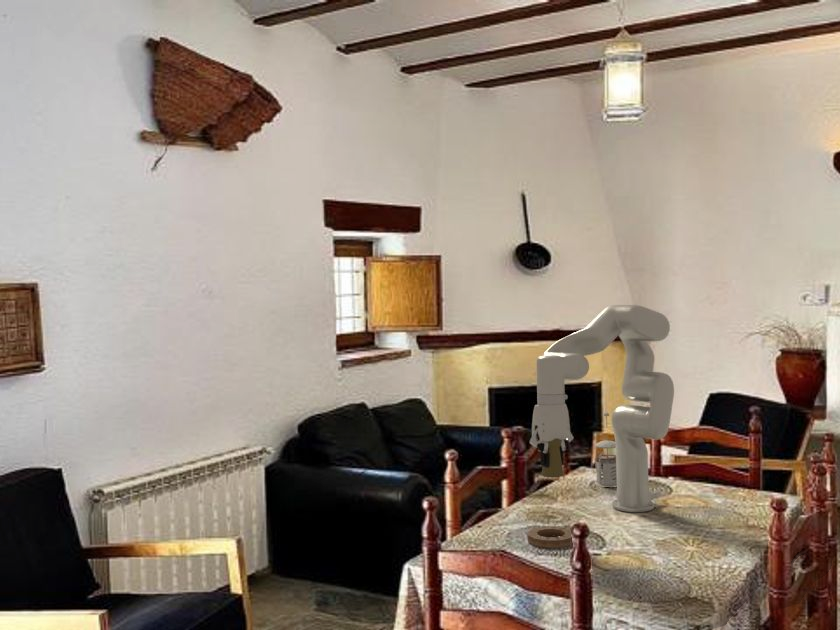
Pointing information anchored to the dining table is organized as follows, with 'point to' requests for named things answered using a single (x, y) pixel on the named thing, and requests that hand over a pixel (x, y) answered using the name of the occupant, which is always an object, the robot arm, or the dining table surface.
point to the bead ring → (550, 542)
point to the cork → (553, 460)
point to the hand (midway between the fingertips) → (552, 464)
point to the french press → (606, 464)
